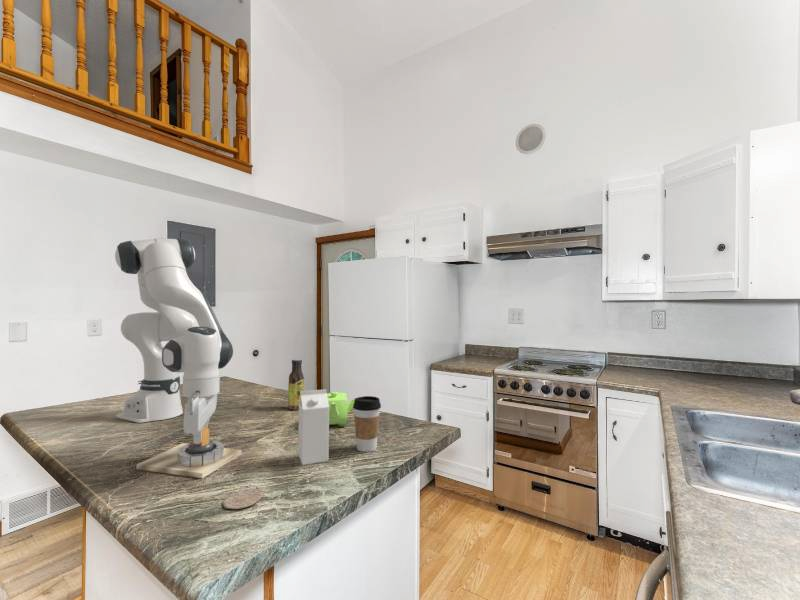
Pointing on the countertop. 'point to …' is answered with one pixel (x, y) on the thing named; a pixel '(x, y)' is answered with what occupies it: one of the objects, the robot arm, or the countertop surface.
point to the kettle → (338, 408)
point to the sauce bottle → (295, 384)
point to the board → (169, 465)
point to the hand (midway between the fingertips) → (200, 438)
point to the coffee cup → (366, 422)
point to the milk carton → (313, 427)
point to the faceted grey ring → (200, 456)
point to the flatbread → (242, 499)
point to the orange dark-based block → (201, 444)
